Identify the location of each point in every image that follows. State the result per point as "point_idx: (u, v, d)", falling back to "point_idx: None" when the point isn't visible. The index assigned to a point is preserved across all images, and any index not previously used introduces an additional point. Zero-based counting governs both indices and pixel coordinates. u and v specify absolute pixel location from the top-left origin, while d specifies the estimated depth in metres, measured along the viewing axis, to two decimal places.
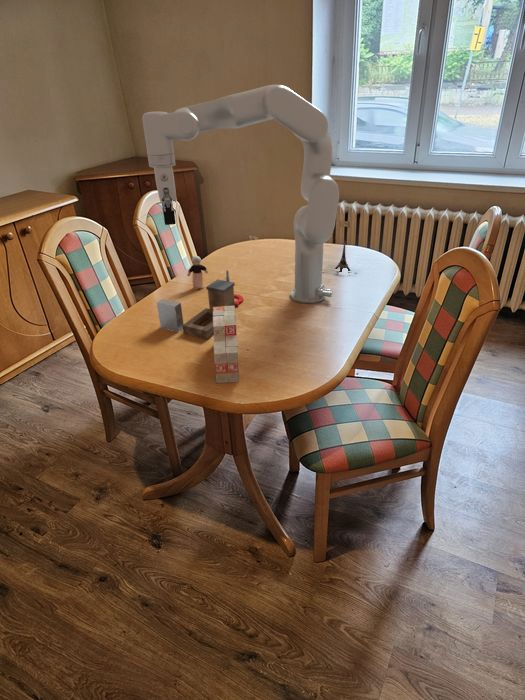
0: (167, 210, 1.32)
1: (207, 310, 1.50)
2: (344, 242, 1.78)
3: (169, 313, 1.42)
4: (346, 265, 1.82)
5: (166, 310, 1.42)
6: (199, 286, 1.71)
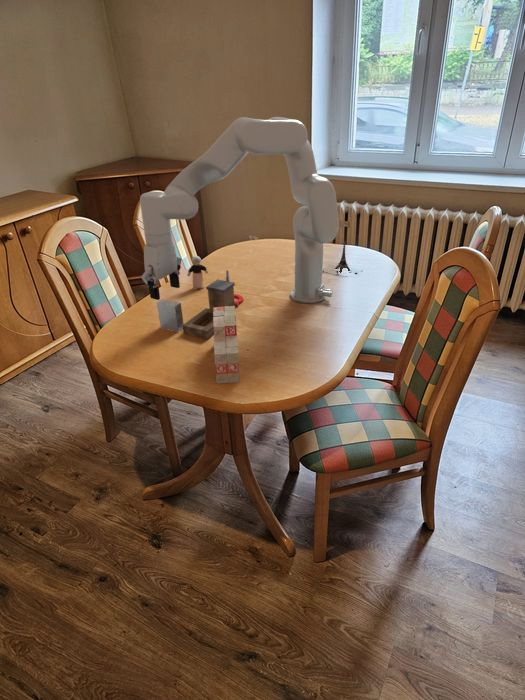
0: None
1: (207, 310, 1.50)
2: (344, 242, 1.78)
3: (169, 313, 1.42)
4: (346, 265, 1.82)
5: (166, 310, 1.42)
6: (199, 286, 1.71)
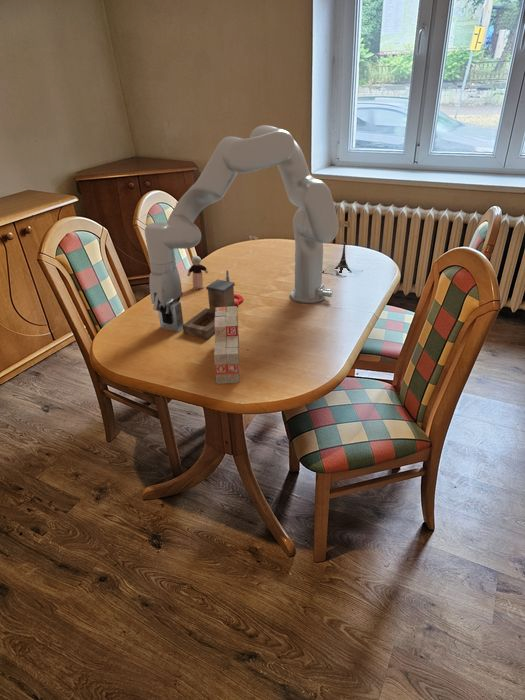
0: None
1: (207, 310, 1.50)
2: (344, 242, 1.78)
3: None
4: (346, 265, 1.82)
5: None
6: (199, 286, 1.71)
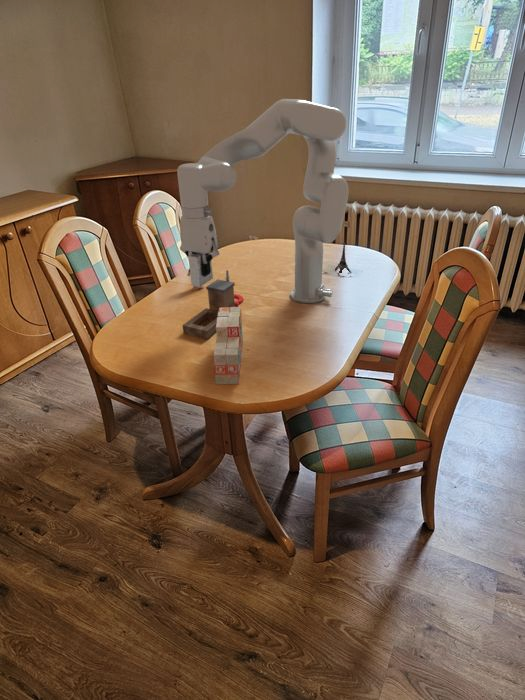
0: (208, 261, 1.33)
1: (207, 310, 1.50)
2: (344, 243, 1.77)
3: None
4: (346, 266, 1.81)
5: None
6: None
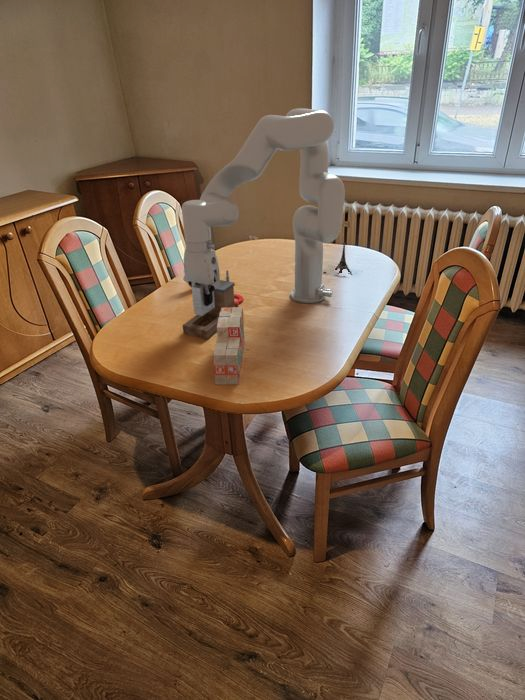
0: (211, 292, 1.38)
1: None
2: (344, 243, 1.77)
3: None
4: (346, 266, 1.81)
5: None
6: None
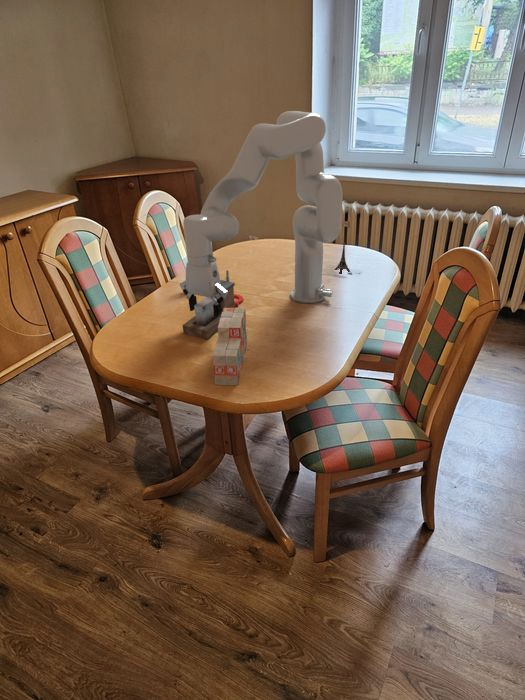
0: (219, 302, 1.38)
1: None
2: (344, 243, 1.77)
3: None
4: (346, 266, 1.81)
5: None
6: None
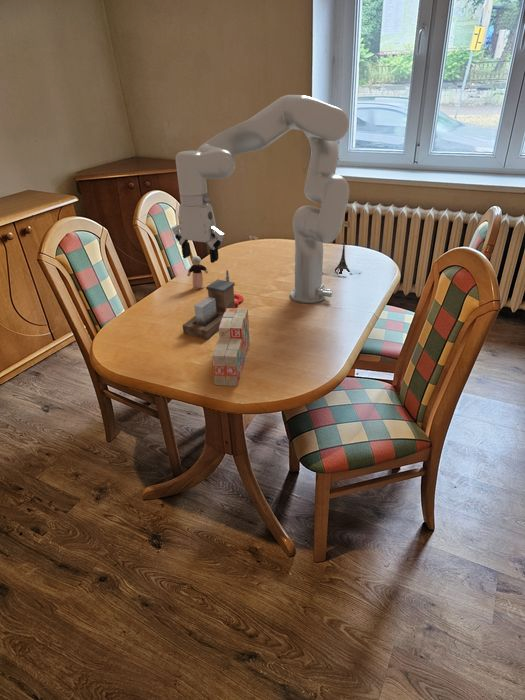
0: (216, 247, 1.30)
1: None
2: (343, 243, 1.77)
3: None
4: (346, 266, 1.81)
5: None
6: (199, 286, 1.71)
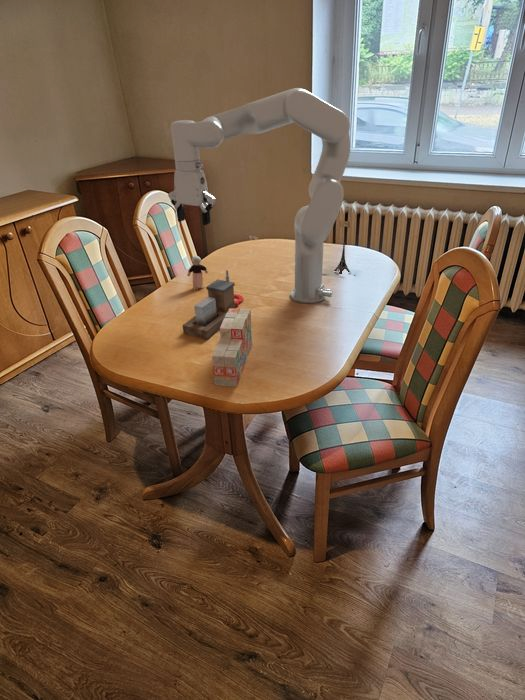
0: (208, 210, 1.42)
1: None
2: (344, 244, 1.76)
3: None
4: (346, 267, 1.80)
5: None
6: (199, 286, 1.71)
